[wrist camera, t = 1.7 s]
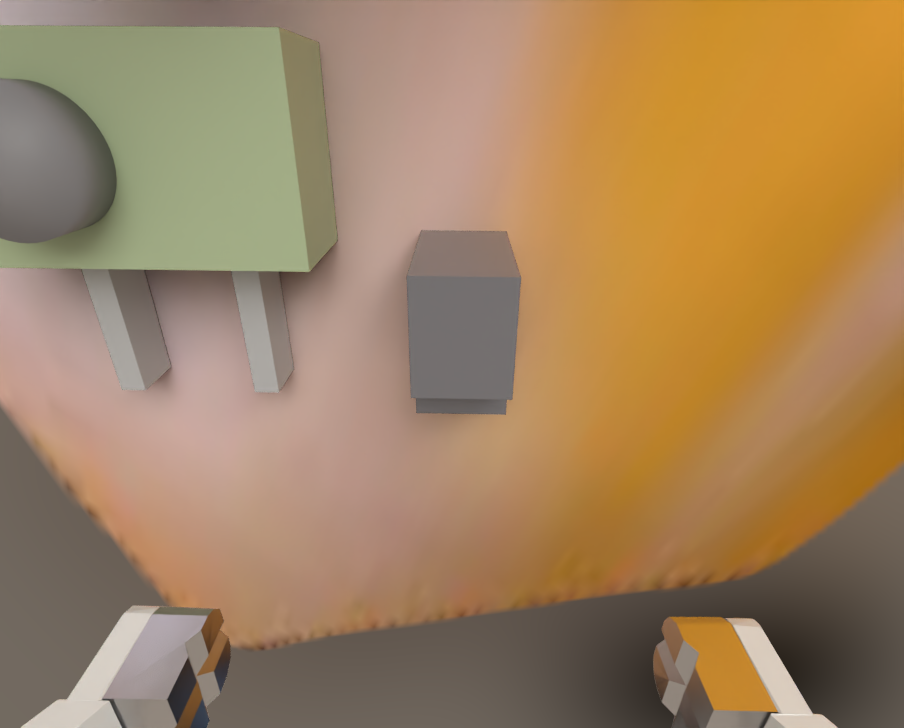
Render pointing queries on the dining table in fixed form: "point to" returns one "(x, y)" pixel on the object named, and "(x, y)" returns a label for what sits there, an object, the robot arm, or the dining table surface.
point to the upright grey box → (462, 321)
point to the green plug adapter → (166, 172)
